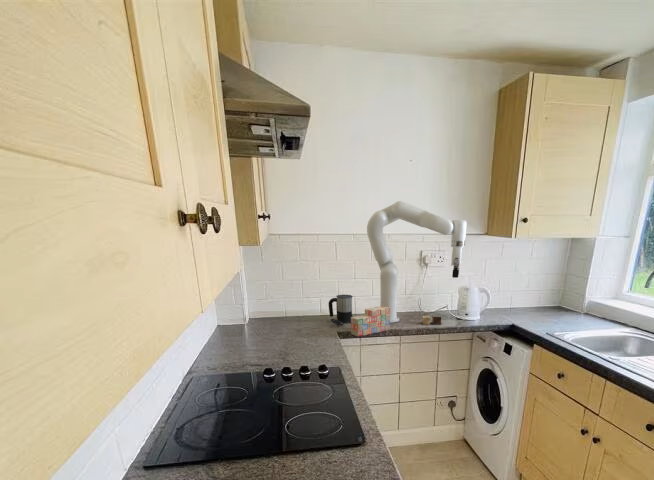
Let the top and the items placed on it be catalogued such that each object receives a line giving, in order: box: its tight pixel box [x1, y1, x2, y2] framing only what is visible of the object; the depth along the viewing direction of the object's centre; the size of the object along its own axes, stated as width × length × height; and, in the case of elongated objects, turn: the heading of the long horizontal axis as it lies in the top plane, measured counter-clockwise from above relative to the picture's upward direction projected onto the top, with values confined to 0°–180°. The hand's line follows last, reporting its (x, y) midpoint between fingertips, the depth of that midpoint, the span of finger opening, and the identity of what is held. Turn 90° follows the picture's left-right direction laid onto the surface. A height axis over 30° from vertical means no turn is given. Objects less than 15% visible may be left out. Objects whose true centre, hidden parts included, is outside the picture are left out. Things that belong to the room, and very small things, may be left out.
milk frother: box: [328, 294, 353, 326], centre depth 232 cm, size 14×16×15 cm
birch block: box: [421, 315, 431, 325], centre depth 234 cm, size 4×4×4 cm
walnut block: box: [431, 314, 442, 326], centre depth 234 cm, size 4×4×4 cm
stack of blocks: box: [350, 305, 391, 337], centre depth 215 cm, size 21×6×12 cm, turn 130°
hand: (455, 276), depth 229 cm, fingers open, 9 cm apart
